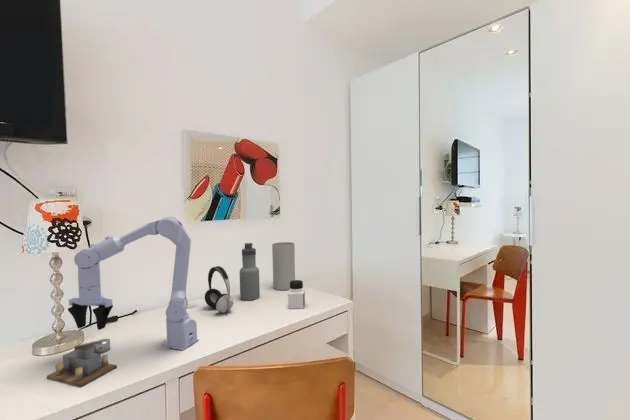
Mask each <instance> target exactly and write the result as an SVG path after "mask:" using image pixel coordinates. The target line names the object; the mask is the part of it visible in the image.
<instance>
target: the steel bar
mask: <svg viewBox="0 0 630 420" xmlns="http://www.w3.org/2000/svg"><path fill="white" fill-rule="evenodd" d="M101 354H102V353H101ZM101 354H98V353H93V352H88V351H83V350H78V349H76V350H72V351H69V352H67V353H65V354H63V355H62V363H63V371H67V372H71V373H75V369H76V368H78V367H82V369H83V375H84V376H90V375H92V374H94V373H95V372H97V371H99V370H101V356H102V355H101Z"/></svg>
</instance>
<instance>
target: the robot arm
mask: <svg viewBox="0 0 630 420" xmlns="http://www.w3.org/2000/svg"><path fill="white" fill-rule="evenodd" d="M158 234H159V235H160V236H162V237H163V238H166V239H168V240H170V241H171V242H172V243H173V245H175V256H174V263H173V264H174V265H173V266H174V267H173V273H172V274H173V275H172V284H171V294H170V298H169V301H168V306H167V307H166V310H165V316H166V319H165V323H166V327H165V328H166V341H165V342H164V343H161V344H160V346H161V347H165V348H170V349H175V350H181V351H183V350H185V349H187V348H189V347H190V346H191V345H193V344H195V343H196V342H198V341H199V338H198V328H197V327H198V326H197V320H195V319H193V318H191V317H190V313H188V312H187V309H188V305H189V303H188V299H187V283H188V274H189V265H190V264H189V263H190V255H191V245H192V244H191V243H192V239H191V237H190V235H189V234H188V232H187V230H186V228H185V226H184V225H183V223H182V222H181V221H180V220H178V219H177V218H176V217H173V216H167V217H163V218H161V219H158V220H155V221H152V222H148V223H146V224H144V225H142V226H139V227H138V228H136V229H133V230H131V231H130V232H128V233H126V234H124V235H122V236H116V235H113V236H111V235H108V236H105V237H104V240H101V241H100V242H97V243H92V244H90V245H89V247H87V248H83V249H81V250H80V251H78V252H76V254H75V255H74V258H73V260H74V264H75V265H76V266H77V282H78V297H72V298H69V299H68V306H71V307H68V308H67V312H69V313H70V315H71V316H72V317H73V318H72V319H73V320H74V322H75V325H76V327H77V329H82V328H84V327H86V324H87V312H88V307H89V306H90V307H95V308H93V309H92V312H93V313H94V317H95V320H96V327H97V330H98V331H100V330H102V329H105V328H106V325H107V321H108V317H109V315H110V313H111V311H112V309H113V308H114V305H113V298H106V297H104V295H102V287H101V286H102V285H101V269H100V262H101V261H105V260H107V259H109V258H111V257H113V256H115V255H118V254H119V253H122V252H123V251H124V249H125V247H126V246H127V245H129V244H131V243H133V242H135V241H137V240H139V239H141V238H145V237H146V236H157V235H158Z"/></svg>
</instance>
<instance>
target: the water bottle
mask: <svg viewBox="0 0 630 420" xmlns="http://www.w3.org/2000/svg"><path fill="white" fill-rule="evenodd" d="M253 246H254V245H253V243H252V242H244V247H243V248H242V249H241V256H242V257H241V259H242V267H241V268H240V269H239V298H240V299H241V300H243V301H255V300H257V299H259V298H260V295H261V294H260V292H261V290H260V268H259V267H257V265H256V263H257V262H256V261H257V260H256V257H257V256H256V255H257V250H256V248H255V247H253Z"/></svg>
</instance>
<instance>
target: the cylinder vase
mask: <svg viewBox="0 0 630 420" xmlns="http://www.w3.org/2000/svg"><path fill="white" fill-rule="evenodd" d="M271 244H272V245H271V248H272V249H271V250H272V251H271V252H272V253H271V254H272V282H273V283H272V286H273V289H274V290H277V291H289V290H290V281H292V280H296V264H295V263H296V258H295V255H296V254H295V250H296V249H295V243H294V242H289V241H288V242H287V241H285V242H273V243H271Z"/></svg>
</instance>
